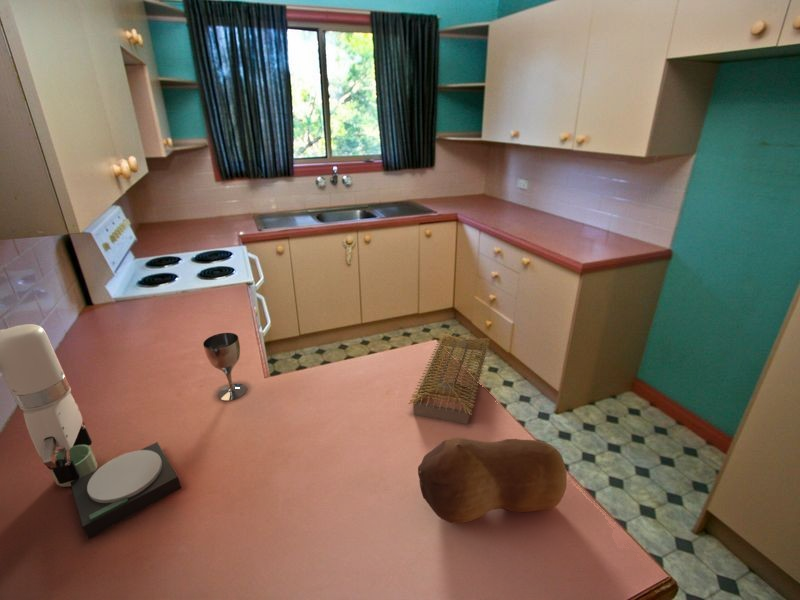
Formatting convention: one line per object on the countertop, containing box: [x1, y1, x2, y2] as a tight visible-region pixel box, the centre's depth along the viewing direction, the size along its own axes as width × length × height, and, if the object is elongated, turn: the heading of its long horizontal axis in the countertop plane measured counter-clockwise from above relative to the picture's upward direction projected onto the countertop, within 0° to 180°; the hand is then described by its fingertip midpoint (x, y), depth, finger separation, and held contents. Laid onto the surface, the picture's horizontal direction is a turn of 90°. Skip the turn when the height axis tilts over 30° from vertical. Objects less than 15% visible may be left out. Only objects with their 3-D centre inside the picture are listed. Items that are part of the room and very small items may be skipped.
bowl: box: [49, 445, 99, 487], centre depth 84 cm, size 7×7×5 cm
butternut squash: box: [417, 436, 568, 524], centre depth 73 cm, size 14×13×25 cm
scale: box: [70, 441, 182, 540], centre depth 80 cm, size 15×13×4 cm
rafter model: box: [408, 332, 491, 425], centre depth 110 cm, size 35×14×6 cm, turn 162°
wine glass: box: [202, 332, 248, 402], centre depth 105 cm, size 8×8×15 cm
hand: (77, 462), depth 84 cm, fingers open, 9 cm apart
